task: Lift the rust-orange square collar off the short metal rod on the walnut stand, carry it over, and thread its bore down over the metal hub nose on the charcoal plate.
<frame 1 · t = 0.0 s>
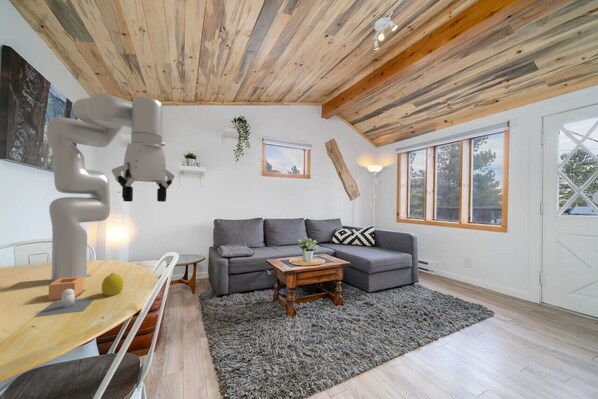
hand: (145, 201, 72), 31 cm above the table, tool pointing down, fingers open, 9 cm apart
lemon: (112, 298, 79), on the table
collar: (66, 295, 77), point 1 cm above the table, touching stand
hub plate: (67, 311, 70), on the table
stand: (66, 299, 77), on the table
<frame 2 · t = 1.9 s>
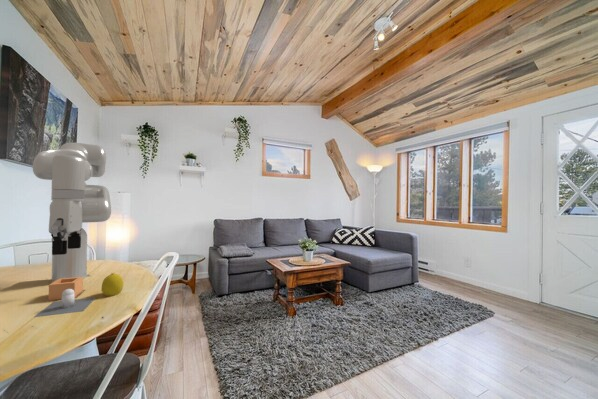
hand: (67, 251, 77), 15 cm above the table, tool pointing down, fingers open, 9 cm apart
nothing on the table moved.
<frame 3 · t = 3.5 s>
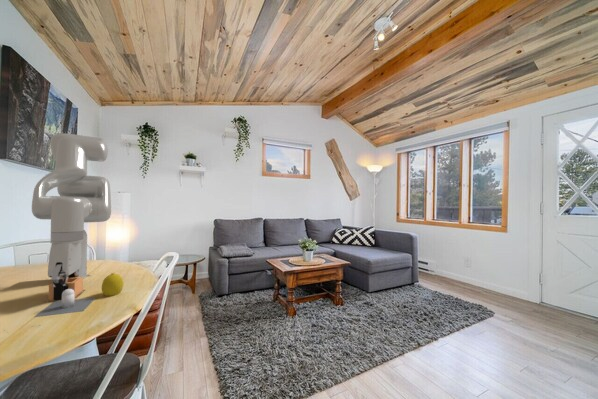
hand: (66, 294, 77), 2 cm above the table, tool pointing down, fingers closed on stand, 6 cm apart
collar: (66, 295, 77), point 1 cm above the table, touching gripper, stand
everything else where it was.
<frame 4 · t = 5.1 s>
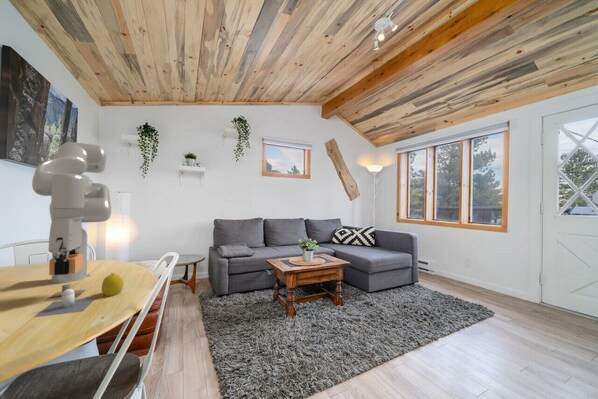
hand: (67, 270, 78), 9 cm above the table, tool pointing down, fingers closed on collar, 6 cm apart
collar: (66, 271, 78), point 9 cm above the table, touching gripper
everything else where it was.
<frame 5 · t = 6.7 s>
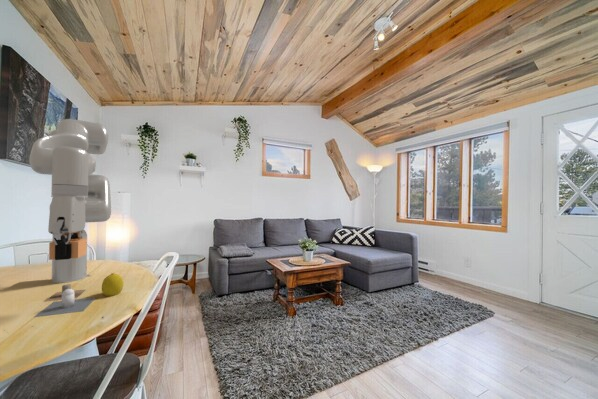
hand: (68, 256, 70), 16 cm above the table, tool pointing down, fingers closed on collar, 6 cm apart
collar: (68, 256, 70), point 15 cm above the table, touching gripper
everything else where it was.
when the fingers open (3 cm above the table, at t = 9.0 s): collar stays where it is, resting on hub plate.
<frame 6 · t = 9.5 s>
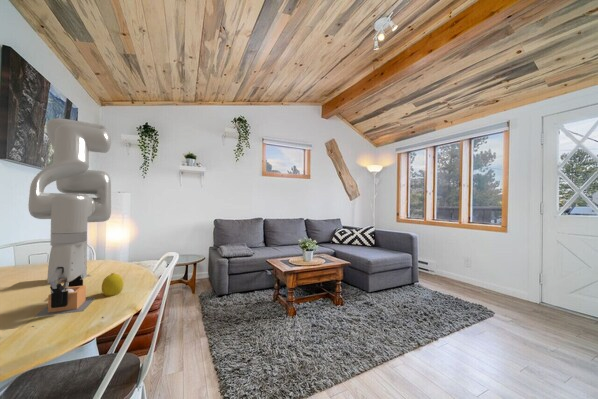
hand: (68, 299, 70), 3 cm above the table, tool pointing down, fingers open, 9 cm apart
collar: (67, 306, 70), point 1 cm above the table, touching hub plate
everything else where it was.
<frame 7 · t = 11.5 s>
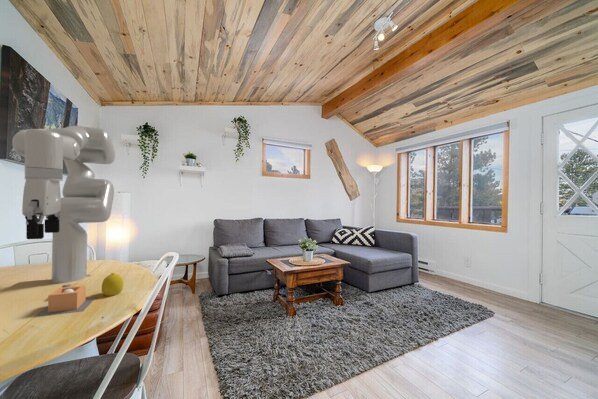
hand: (44, 235, 71), 21 cm above the table, tool pointing down, fingers open, 9 cm apart
nothing on the table moved.
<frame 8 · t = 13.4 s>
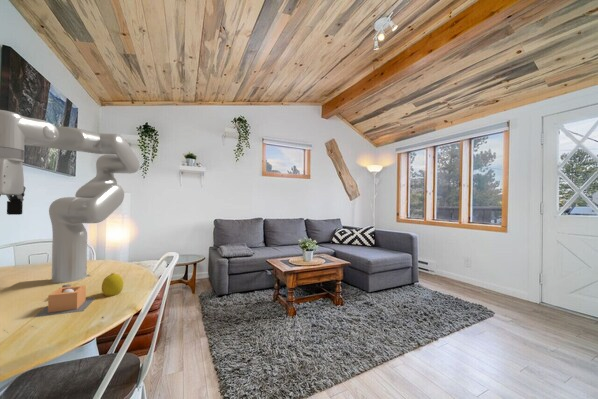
hand: (3, 215, 71), 26 cm above the table, tool pointing down, fingers open, 9 cm apart
nothing on the table moved.
at the end: collar 0.0 cm off-centre on the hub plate, point 1.5 cm above the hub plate's base; collar tilted 0°; the gripper is holding nothing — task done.
